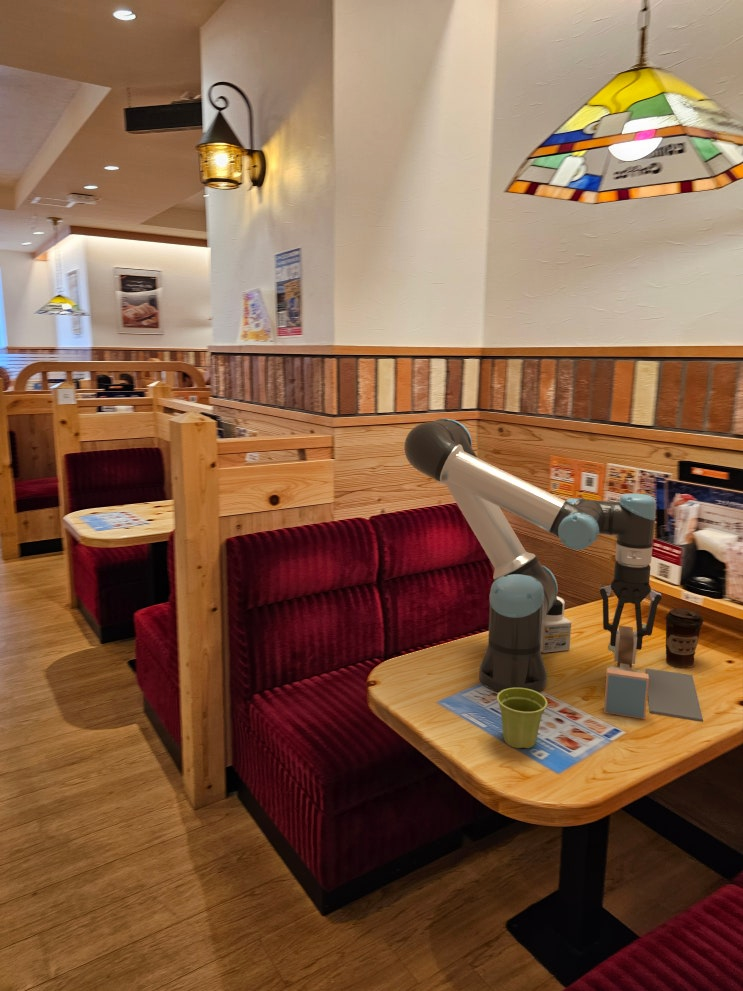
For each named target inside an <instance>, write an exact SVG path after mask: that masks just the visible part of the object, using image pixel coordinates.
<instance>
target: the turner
mask: <svg viewBox="0 0 743 991" xmlns="http://www.w3.org/2000/svg"><path fill="white" fill-rule="evenodd" d="M633 629H634V628H633V626H626V625H619V626H618V631H620V639H619V651H618V662H617V663H616V664H617V666H612V665H608V666H607V668H611V669H618V670H625V671H631V672H638V673H643V671H642V670H638V669H632V668H633V664H632V658H633V647H634V640H633V632H634V630H633Z"/></svg>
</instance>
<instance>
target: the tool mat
mask: <svg viewBox="0 0 743 991" xmlns="http://www.w3.org/2000/svg"><path fill="white" fill-rule="evenodd" d="M645 674H648V676H649V682H648V693H647V700H648V708H649V713H650V714H655V715H662V716H665V717H667V716H668V717H673V718H680V719H685V720H691V721H698V722H703V721H704V718H703V714H702V710H701V707H700V702H699V698H698V693H697V689H696V685H695V684H696V683H695V681H694V677H693V674H687V673H681V672H675V671H668V670H660V669H656V668H655V669H654V668H647V667H646V668H645Z"/></svg>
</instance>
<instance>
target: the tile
mask: <svg viewBox="0 0 743 991" xmlns="http://www.w3.org/2000/svg"><path fill="white" fill-rule="evenodd" d="M648 682H649V676H648V674H646V672H642V673H638V672H631V671H625V670H618V669H611V668H608V667H606V676H605V690H604V700H603V701H604V702H603V713H605V714H611V715H612V714H613V715H617V716H622V717H629V718H635V719H640V718H641V719H640V720H646V714H647V703H648V702H647V700H648Z"/></svg>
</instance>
